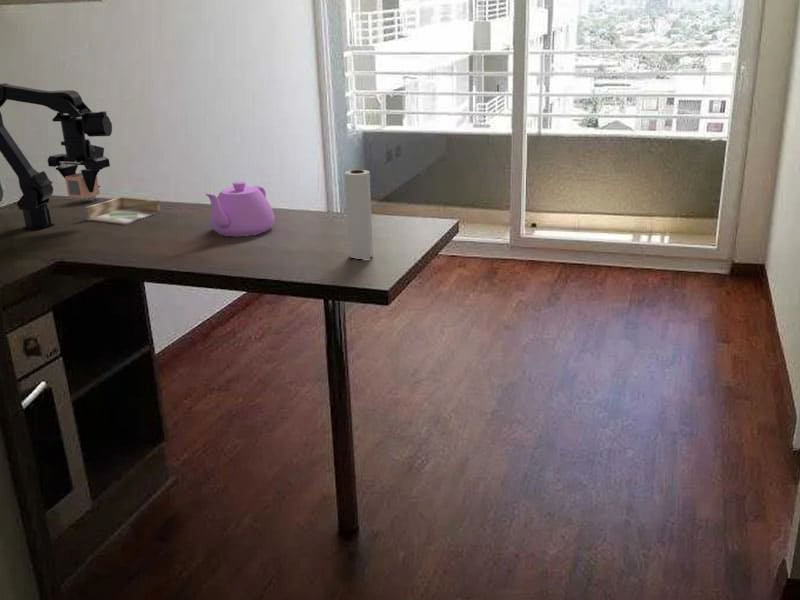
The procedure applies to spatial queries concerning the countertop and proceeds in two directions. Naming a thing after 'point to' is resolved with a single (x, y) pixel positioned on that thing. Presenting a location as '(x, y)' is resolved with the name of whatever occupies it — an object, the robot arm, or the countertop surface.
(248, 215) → the teapot
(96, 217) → the tray
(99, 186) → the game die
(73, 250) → the countertop surface
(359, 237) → the paper towel roll
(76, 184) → the cube
